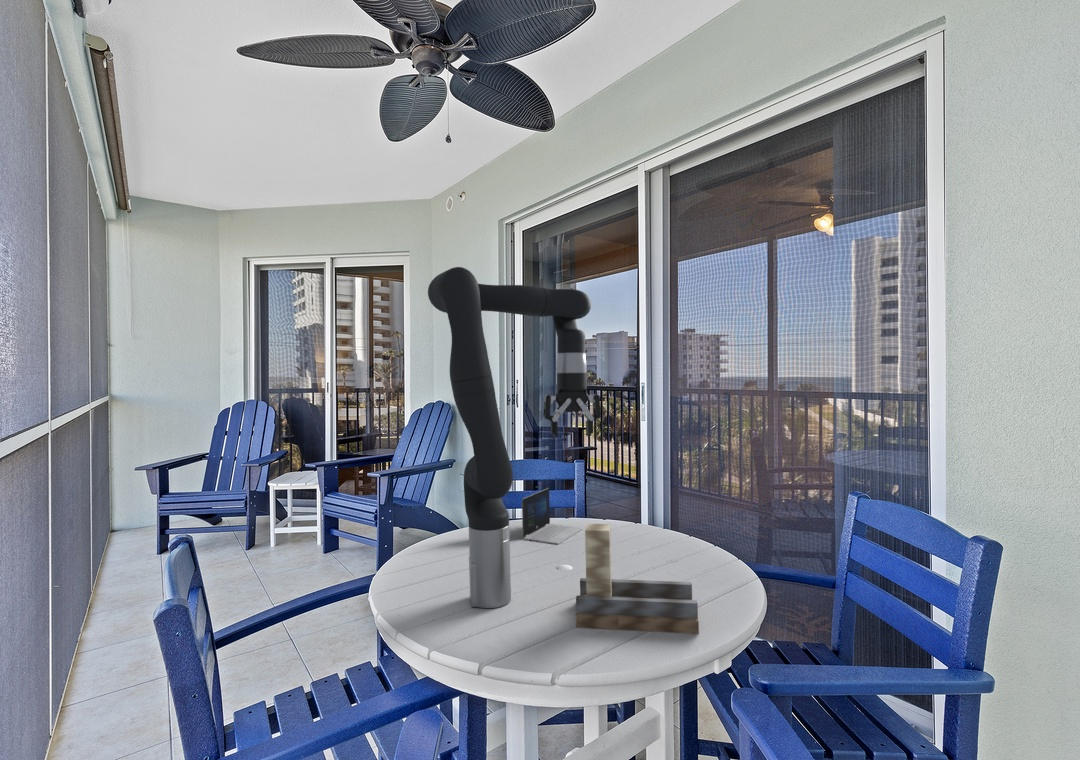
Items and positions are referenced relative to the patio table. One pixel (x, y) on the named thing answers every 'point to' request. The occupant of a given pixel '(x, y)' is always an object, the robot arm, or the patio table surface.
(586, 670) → the patio table surface
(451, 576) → the patio table surface
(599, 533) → the tall block
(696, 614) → the channel deck
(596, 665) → the patio table surface
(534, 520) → the laptop
